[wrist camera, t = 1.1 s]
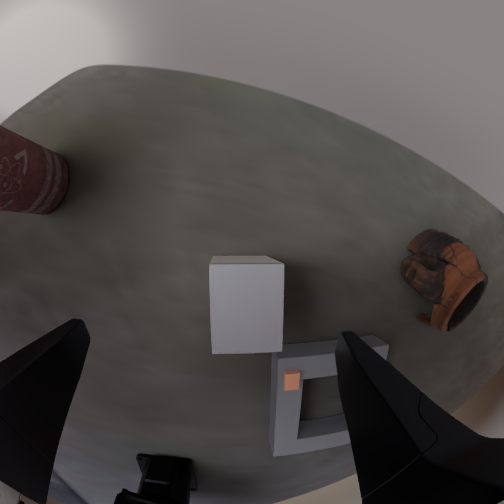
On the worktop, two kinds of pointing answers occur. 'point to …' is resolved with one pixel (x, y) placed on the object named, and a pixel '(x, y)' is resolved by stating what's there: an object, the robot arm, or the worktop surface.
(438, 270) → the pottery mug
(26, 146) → the can
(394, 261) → the worktop surface
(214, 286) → the plug
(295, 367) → the socket block
